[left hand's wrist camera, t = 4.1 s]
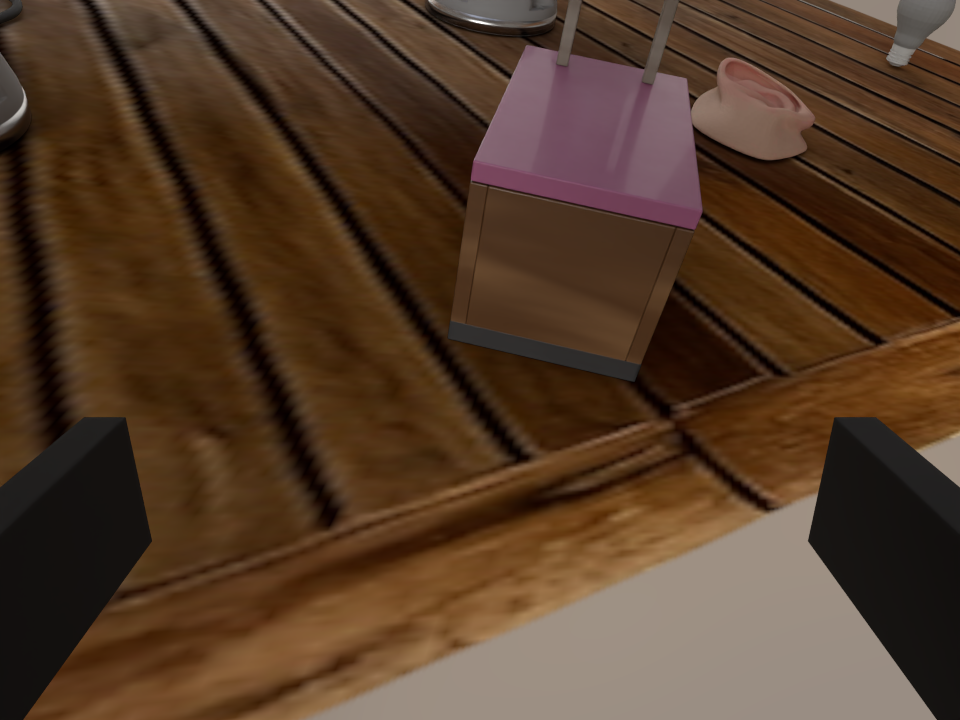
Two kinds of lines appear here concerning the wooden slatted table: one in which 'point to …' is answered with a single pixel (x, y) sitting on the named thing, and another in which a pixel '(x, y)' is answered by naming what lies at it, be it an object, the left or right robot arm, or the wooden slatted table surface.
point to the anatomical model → (752, 113)
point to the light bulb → (917, 26)
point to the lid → (596, 132)
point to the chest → (562, 280)
